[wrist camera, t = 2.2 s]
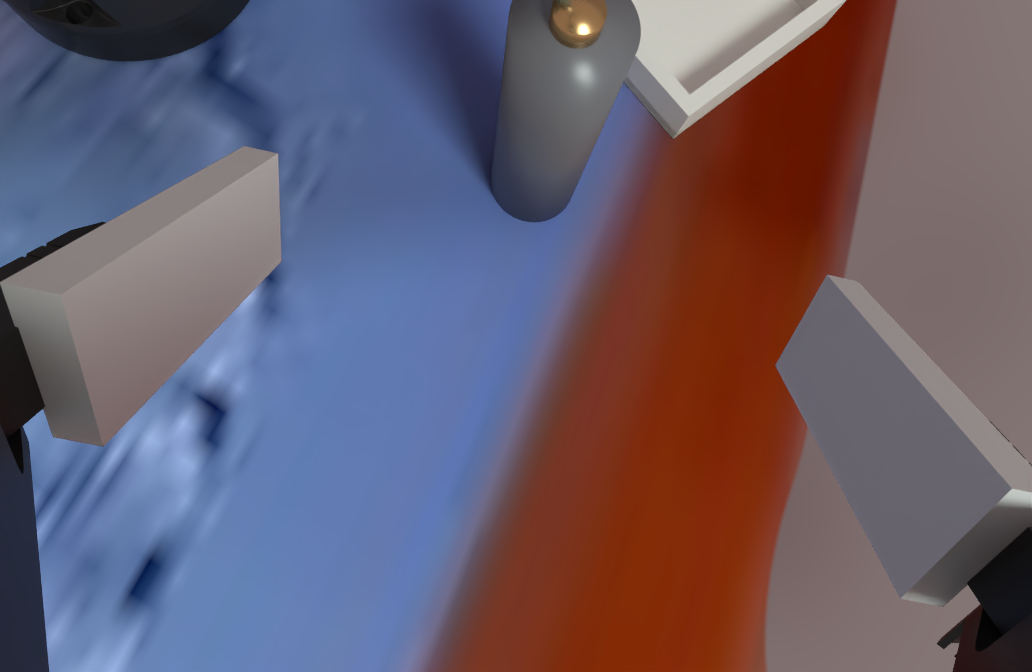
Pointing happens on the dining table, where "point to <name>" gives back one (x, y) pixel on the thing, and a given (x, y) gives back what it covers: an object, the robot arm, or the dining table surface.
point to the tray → (712, 50)
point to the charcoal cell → (557, 97)
